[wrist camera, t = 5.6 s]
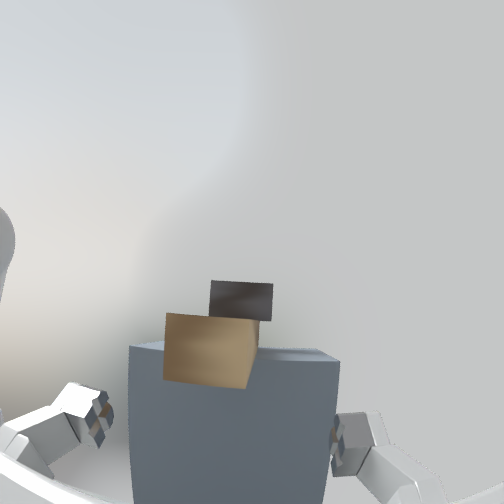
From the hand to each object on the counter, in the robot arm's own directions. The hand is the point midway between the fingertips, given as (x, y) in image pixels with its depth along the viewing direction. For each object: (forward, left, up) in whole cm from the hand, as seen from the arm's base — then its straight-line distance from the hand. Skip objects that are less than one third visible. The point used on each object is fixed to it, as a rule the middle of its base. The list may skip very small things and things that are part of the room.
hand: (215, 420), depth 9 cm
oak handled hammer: (-1, +10, +1) cm, 10 cm away
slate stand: (-1, +15, -25) cm, 29 cm away
